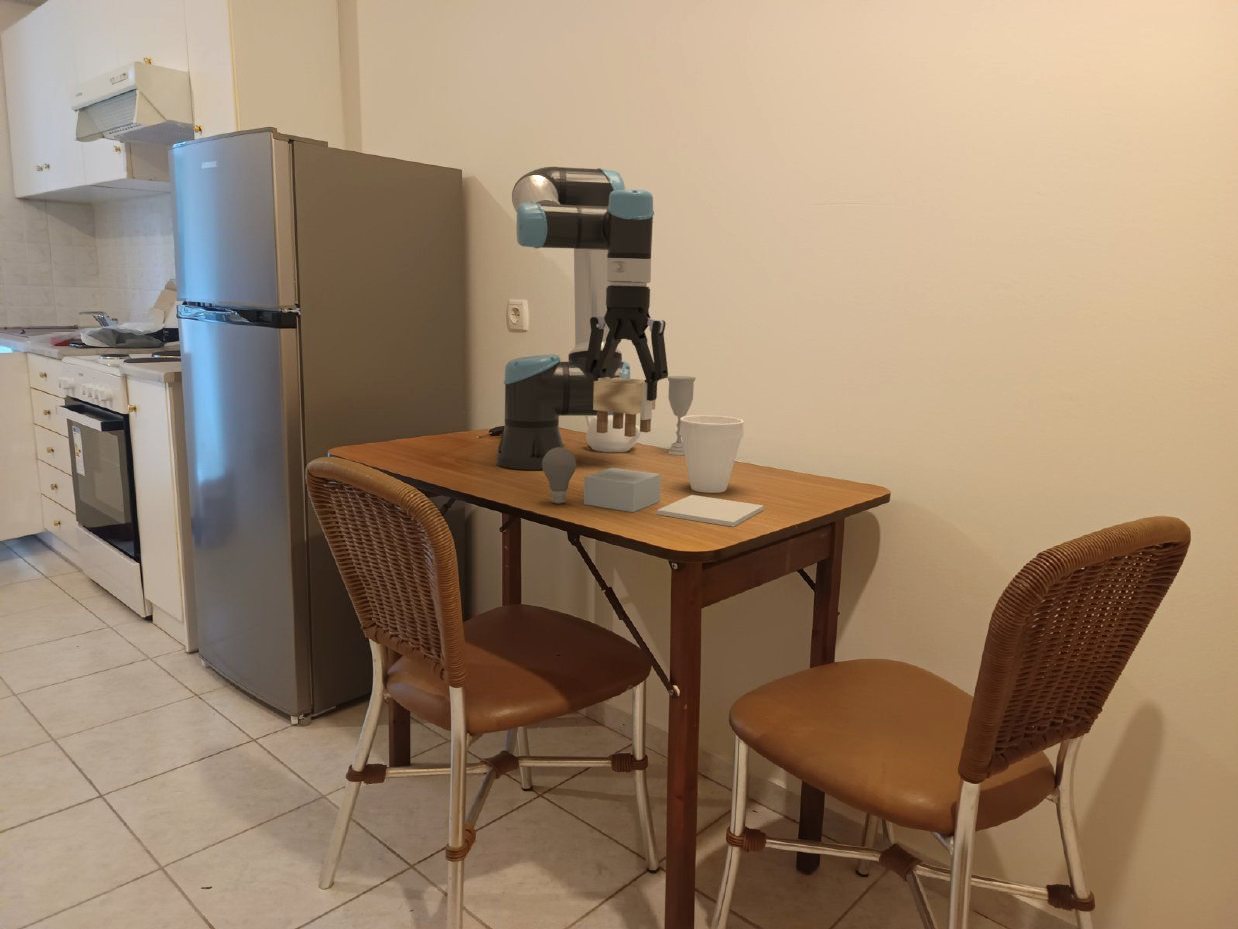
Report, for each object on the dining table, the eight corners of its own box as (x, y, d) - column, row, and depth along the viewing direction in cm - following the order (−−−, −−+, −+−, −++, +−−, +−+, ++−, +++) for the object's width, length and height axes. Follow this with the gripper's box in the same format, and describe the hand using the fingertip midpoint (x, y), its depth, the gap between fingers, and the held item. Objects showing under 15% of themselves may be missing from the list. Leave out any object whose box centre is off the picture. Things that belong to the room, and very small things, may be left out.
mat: (656, 514, 149) (656, 509, 148) (691, 499, 160) (691, 494, 160) (733, 526, 142) (733, 522, 142) (763, 509, 154) (764, 505, 154)
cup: (751, 494, 165) (755, 423, 163) (690, 497, 162) (693, 424, 159) (725, 481, 177) (728, 414, 174) (668, 483, 174) (670, 415, 171)
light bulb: (548, 508, 151) (548, 451, 149) (537, 500, 156) (537, 445, 154) (580, 505, 153) (581, 449, 151) (568, 498, 158) (569, 444, 157)
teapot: (563, 445, 214) (564, 404, 212) (601, 440, 222) (602, 401, 220) (619, 458, 200) (620, 414, 198) (657, 452, 208) (658, 410, 206)
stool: (592, 432, 153) (593, 381, 151) (615, 426, 160) (616, 377, 158) (632, 437, 149) (634, 385, 147) (654, 431, 156) (656, 381, 154)
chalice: (690, 456, 203) (694, 379, 200) (662, 454, 205) (664, 378, 201) (694, 451, 210) (697, 376, 207) (666, 449, 212) (669, 375, 208)
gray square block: (583, 504, 154) (584, 476, 153) (612, 493, 163) (612, 467, 162) (633, 512, 150) (634, 483, 149) (659, 501, 158) (660, 474, 157)
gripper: (565, 282, 151) (563, 413, 156) (673, 286, 141) (667, 425, 146) (587, 283, 157) (585, 408, 162) (693, 286, 147) (686, 420, 152)
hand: (624, 416), depth 154 cm, fingers closed on stool, 8 cm apart
